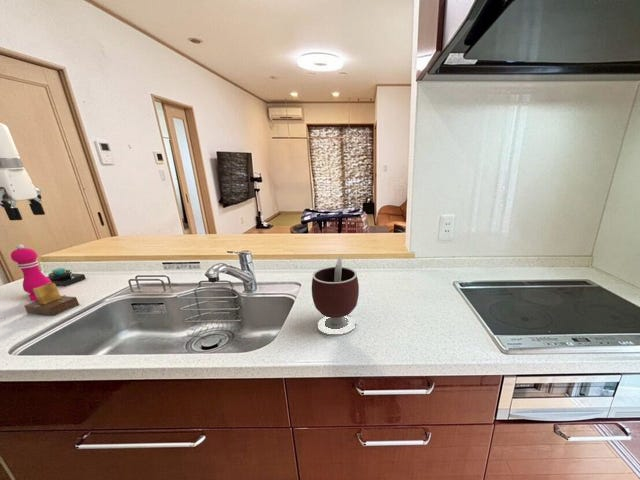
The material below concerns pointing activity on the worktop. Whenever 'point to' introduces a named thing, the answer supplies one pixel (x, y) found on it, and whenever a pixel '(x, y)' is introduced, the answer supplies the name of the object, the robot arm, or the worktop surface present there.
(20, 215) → the robot arm
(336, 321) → the mate gourd
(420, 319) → the worktop surface
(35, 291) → the lock turn
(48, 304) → the brown flat block
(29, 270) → the pepper mill
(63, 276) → the doorbell
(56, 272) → the bell button
